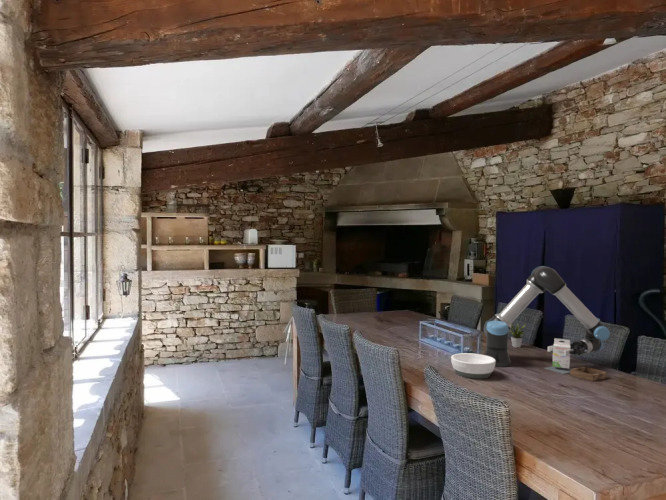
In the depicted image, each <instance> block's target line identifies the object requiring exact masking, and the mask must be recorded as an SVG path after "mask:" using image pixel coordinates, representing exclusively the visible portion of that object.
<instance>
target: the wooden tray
mask: <svg viewBox="0 0 666 500" xmlns="http://www.w3.org/2000/svg"><path fill="white" fill-rule="evenodd" d="M569 376H573V377H576V378H580V379H583V380H587V381H590V382H596V381H601V380H604V379H608V371H604V370H601V369H596V368H592V367H588V366H580V367H575V368H570V373H569Z"/></svg>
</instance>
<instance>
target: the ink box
mask: <svg viewBox="0 0 666 500" xmlns="http://www.w3.org/2000/svg"><path fill="white" fill-rule="evenodd" d="M553 340H554V341H553V344H554V345H553V351H552V366H554V367H561V368H568V369H569V368H570V366H571V355H567V356H565V355H564V350H570V349H571V346H570V344H571V340H570V339H563V338H555V337H554V339H553ZM562 341H563V342H562ZM570 369H571V368H570Z"/></svg>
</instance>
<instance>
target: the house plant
mask: <svg viewBox="0 0 666 500" xmlns="http://www.w3.org/2000/svg"><path fill="white" fill-rule="evenodd" d="M518 323H519V322H517V324H516V327H515V325H514V324H513V323H511V328H510V330H509V331H508V334H511V335H512V336H510V340H511V347H512V346H513V348H517V347H519V348H521V347H522V342H523V336H525V333H526V331H525V330H522V329H524V328H525V327H526V324H524V325H523V326H522V327H520V326H521V324H522V323H521V324H520V325H519V324H518ZM522 335H523V336H522Z"/></svg>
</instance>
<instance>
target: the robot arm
mask: <svg viewBox="0 0 666 500" xmlns="http://www.w3.org/2000/svg"><path fill="white" fill-rule="evenodd" d="M545 291H548V293H550V294H551V295H553V296H555V297H556V298H557V299H558V300H559V301H560V302H561V303H562V304H563V305H564V306H565V307H566V309H568V311H569V312H570V313H571V314H572V315H573V316H575V318H576V319H577V320H578V321H579V322H580V323H581V324H582V325H583V326H584V327H585V328H584V329H585V330H584V334H585V335H584V336H585V337H584V339H579V340H574V341H573V342H572V343H570V346H571V349H570V350H564V355H565V356H567V355H570V356H573V355H578V356H581V355H586V354H589V353H596V352H599V351H601V350H602V349H603V348H604V342H603V341H606V340H608V339H609V338H610V335H611V333H610V329H608V327H606V326H605V325H603V323H602V322H601V319H600V318H598V317H596V315H594V314H593V313H592V311H590V309H588V308H587V307H586V306H585V304H584V303H583V301H581V300H580V299H579V298H578V297H577V296H576V295H575V293H573V292H572V291H571V289H570V288H569V287H567V283H566V281H564V279H563V278H562V277H561V276H560V275H559V273H558V272H557V271H556V270H555V269H554V268H551V267H549V266H547V265H546V266H545V265H541V266H537V267H535V268H534V269H533V270H532V271H531V275H530V276H528V277H527V279H526V284H525V285H523V287H522V288H521V289H520V291H519V292H518V293H517V294H515V296H514V297H512V299H511V300H510V302H508V304H507V305H506V306H505V307H504V308H503V309H502V311H501V310H500V311H501V312H500V313H496V314H495V313H494V315H493V316H492V317H491V318H489V319H487V320H486V321H485V323H484V325H483V333H484V335H485V336H486V338H485V339H486V342H485V343H486V344H485V345H486V348H485V352H484V354H483V355H486V356H490V357H492V358H494V359H495V360H496V362H495V367H499V368H501V367H502V368H503V367H504V368H505V367H510V366H511V363H512V361H511V358H510V354H509V352H508V350H509V349H508V348H509V331H510V330H511V328H512V327H511V324H513V322H514V321H515V320H516V319H518V317H519V316H520V315H521V314H522V312H523V311H524V310H525V309H526V308H527V307H528V306H529V305H530V304H531V302H533V301H534V299H535V298H536V297H537V296H538V295H539V294H543V293H545ZM553 345H554V343H552V344H551V345H549V346H547V352H548V353H549V352H550V353H551V352H553Z"/></svg>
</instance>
